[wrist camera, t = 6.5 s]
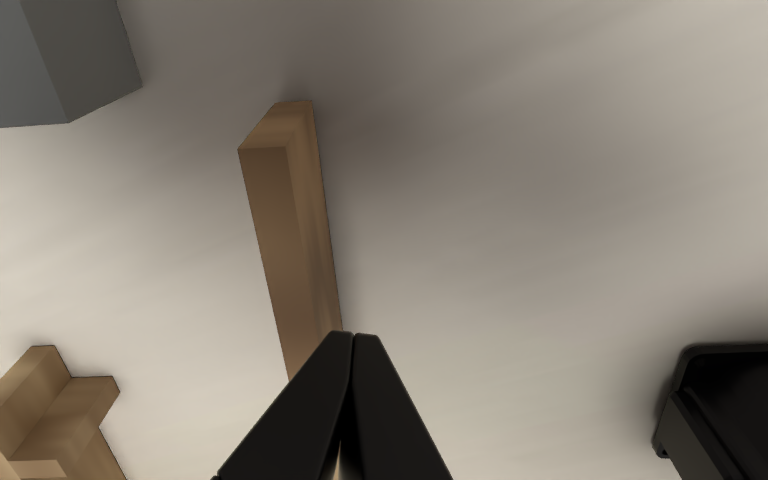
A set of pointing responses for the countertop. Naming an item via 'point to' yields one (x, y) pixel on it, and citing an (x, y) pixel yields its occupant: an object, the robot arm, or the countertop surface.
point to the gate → (292, 227)
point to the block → (61, 60)
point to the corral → (55, 422)
